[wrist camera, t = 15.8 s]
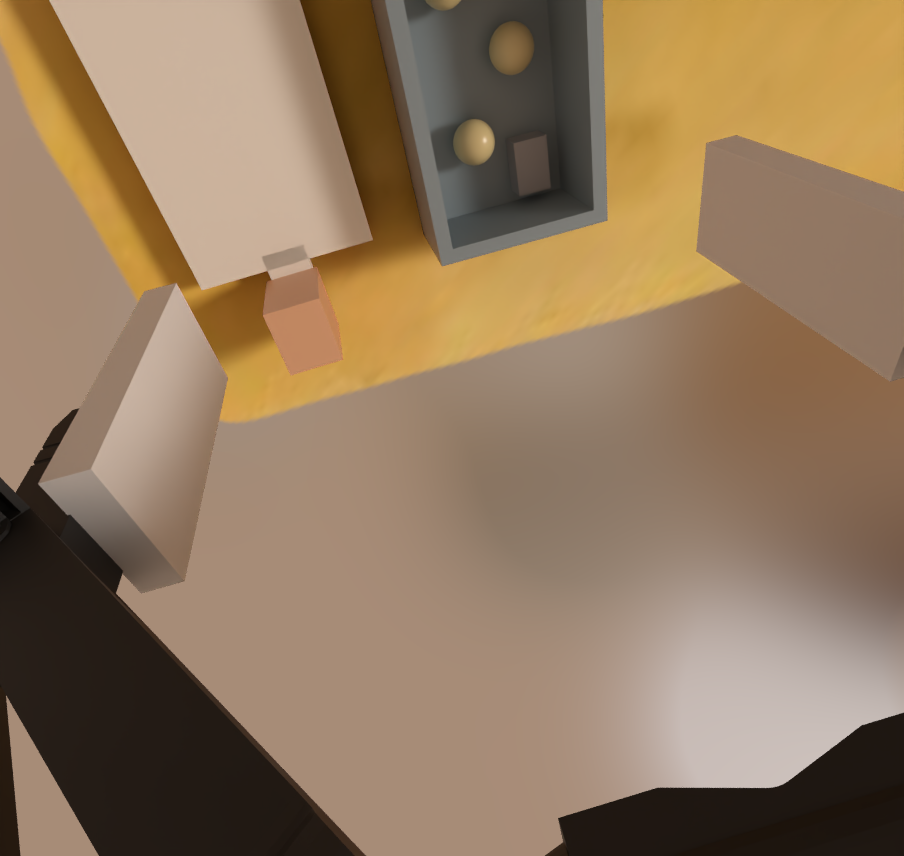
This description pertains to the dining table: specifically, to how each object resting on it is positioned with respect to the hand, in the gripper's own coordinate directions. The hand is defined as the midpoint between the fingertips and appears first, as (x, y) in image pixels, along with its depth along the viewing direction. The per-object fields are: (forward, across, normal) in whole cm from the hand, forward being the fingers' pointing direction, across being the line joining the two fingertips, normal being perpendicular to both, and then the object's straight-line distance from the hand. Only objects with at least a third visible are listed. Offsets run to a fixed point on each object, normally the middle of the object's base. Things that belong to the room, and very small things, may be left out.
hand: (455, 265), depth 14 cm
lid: (+23, -8, 0) cm, 25 cm away
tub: (+24, +6, 0) cm, 24 cm away
